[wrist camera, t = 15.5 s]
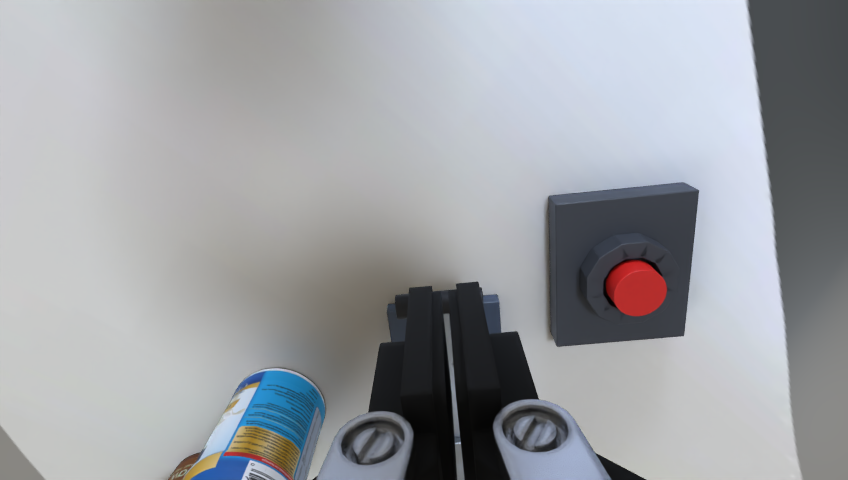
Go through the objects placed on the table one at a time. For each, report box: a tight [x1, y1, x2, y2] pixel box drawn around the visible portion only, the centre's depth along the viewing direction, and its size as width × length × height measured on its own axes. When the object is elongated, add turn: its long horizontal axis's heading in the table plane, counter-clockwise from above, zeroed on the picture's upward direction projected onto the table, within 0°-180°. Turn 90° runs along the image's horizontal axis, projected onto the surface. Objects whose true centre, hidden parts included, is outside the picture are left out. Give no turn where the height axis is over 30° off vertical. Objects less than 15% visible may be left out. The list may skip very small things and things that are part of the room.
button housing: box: [549, 182, 699, 347], centre depth 36 cm, size 12×10×4 cm
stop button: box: [606, 260, 667, 316], centre depth 34 cm, size 4×4×2 cm
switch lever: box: [395, 287, 484, 480], centre depth 31 cm, size 12×6×2 cm, turn 7°
